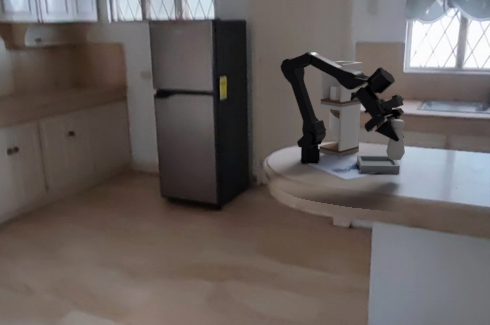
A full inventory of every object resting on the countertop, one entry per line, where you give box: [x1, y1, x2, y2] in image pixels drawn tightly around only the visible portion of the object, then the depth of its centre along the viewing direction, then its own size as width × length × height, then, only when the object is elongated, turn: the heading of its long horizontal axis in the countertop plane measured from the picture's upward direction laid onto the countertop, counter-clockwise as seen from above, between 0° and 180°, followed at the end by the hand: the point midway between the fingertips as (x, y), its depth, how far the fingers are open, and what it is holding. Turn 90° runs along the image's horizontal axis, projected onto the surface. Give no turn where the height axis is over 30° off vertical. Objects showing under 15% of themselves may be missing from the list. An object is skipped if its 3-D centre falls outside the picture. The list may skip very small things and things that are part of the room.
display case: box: [319, 60, 364, 157], centre depth 199 cm, size 11×11×35 cm
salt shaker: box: [386, 118, 406, 161], centre depth 166 cm, size 6×6×13 cm
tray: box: [356, 155, 401, 174], centre depth 181 cm, size 13×13×2 cm
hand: (400, 139), depth 165 cm, fingers closed on salt shaker, 3 cm apart
